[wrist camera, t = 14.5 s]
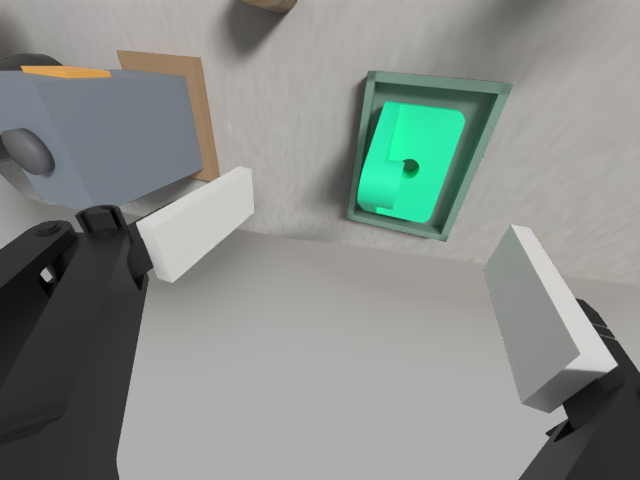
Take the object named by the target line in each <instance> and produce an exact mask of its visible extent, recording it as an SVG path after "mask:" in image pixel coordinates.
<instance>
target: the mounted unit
mask: <svg viewBox="0 0 640 480" xmlns="http://www.w3.org/2000/svg"><path fill="white" fill-rule="evenodd" d="M117 53H118V57H119V60H120V63H121V66H122V69H123V70H97V69H89V68H80V67H72V66H21V68H22V70H23V71H0V134H1V138H2V142H3V144H4V146H5V148H6V150H7V151H8V153H9V154H10V156H11V157H12V158H13V159H14V161H15V162H16V163H17V164H18V165H19V166H20V167H21V169H22V170H23V172H24V173H25V175H26V177H27V178H28V180H29V182H30V183H31V185H32V186H33V188H34V190H35V191H36V193H37V195H38V196H39V198H41V199H44V200H48V201H51V202H54V203H58V204H61V205H64V206H67V207H71V208H74V209H77V210H81V211H82V210H84V209H86V208H89V207H93V206H98V205H115V206H117V207H120V206H122V205H124V204H126V203H128V202H131V201H133V200H135V199H137V198H140V197H142V196H144V195H146V194H148V193H151V192H153V191H155V190H157V189H159V188H162V187H164V186H166V185H168V184H171V183H173V182H175V181H177V180H179V179H182V178H184V177H186V176H187V177H191V178H195V179H200V180H204V181H209V182H212V181H213V180H215V179H217V178H219V177H220V175H219V168H218V162H217V156H216V150H215V144H214V138H213V132H212V126H211V119H210V113H209V107H208V101H207V95H206V89H205V83H204V77H203V70H202V64H201V58H197V57H186V56H175V55H165V54H154V53H143V52H133V51H118V50H117Z"/></svg>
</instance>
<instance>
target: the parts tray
mask: <svg viewBox="0 0 640 480" xmlns="http://www.w3.org/2000/svg"><path fill="white" fill-rule="evenodd" d="M512 87H513V84H510V83H504V82H493V81H482V80H471V79H460V78H449V77H438V76H427V75H416V74H405V73H394V72H383V71H368V75H367V82H366V89H365V96H364V102H363V109H362V116H361V123H360V130H359V136H358V143H357V150H356V157H355V164H354V171H353V177H352V184H351V191H350V198H349V205H348V211H347V218H346V219H350V220H354V221H358V222H363V223H367V224H371V225H375V226H380V227H384V228H388V229H393V230H397V231H401V232H405V233H410V234H414V235H418V236H423V237H427V238H431V239H435V240H440V241H444V242H446V240H447V238H448V236H449V233H450V231H451V229H452V226H453V224H454V222H455V219H456V217H457V215H458V212H459V210H460V208H461V205H462V203H463V201H464V198H465V196H466V194H467V191H468V189H469V187H470V184H471V182H472V180H473V177H474V175H475V173H476V170H477V168H478V166H479V163H480V161H481V159H482V157H483V154H484V152H485V150H486V147H487V145H488V143H489V140H490V138H491V136H492V133H493V131H494V129H495V126H496V124H497V122H498V119H499V117H500V115H501V112H502V110H503V108H504V105H505V103H506V101H507V98H508V96H509V94H510V91H511V89H512ZM386 101H392V102H400V103H409V104H417V105H426V106H434V107H443V108H451V109H457V110H459V111H460V112H461V113H462V114H463V116H464V118H465V124H464V127H463V130H462V132H461V135H460V138H459V141H458V143H457V146H456V149H455V152H454V154H453V157H452V160H451V163H450V165H449V168H448V171H447V174H446V176H445V179H444V182H443V185H442V187H441V190H440V193H439V196H438V198H437V201H436V204H435V207H434V209H433V212H432V215H431V217H430V219H429V220H428V221H426V222H423V223H419V222H415V221H410V220H406V219H401V218H397V217H392V216H388V215H383V214H379V213H374V212H370V211H365V210H364V209H363V208H362V207H361V206H360V204H359V203H358V201H357V197H358V189H359V183H360V178H361V174H362V170H363V167H364V164H365V161H366V158H367V155H368V152H369V149H370V146H371V143H372V140H373V137H374V134H375V131H376V128H377V125H378V122H379V119H380V116H381V113H382V110H383V107H384V104H385V102H386ZM402 162H405V163H404V167H403V170H405V171H413V170H415V169H417V168H418V166H419V165H418V163H417V162H416V161H415V160H413V159H406V160H403V161H402Z"/></svg>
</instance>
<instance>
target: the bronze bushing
mask: <svg viewBox="0 0 640 480" xmlns="http://www.w3.org/2000/svg"><path fill="white" fill-rule="evenodd" d="M240 1H243V2H245V3H248V4H251V5H254V6H257V7H260V8H263V9H266V10H268V11H271V12H274V13H278V14H282V13H286V12H288V11H289V10H291V9H292V8H293V6H294V5H295V4H296V2H297V0H240Z"/></svg>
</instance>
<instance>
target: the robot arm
mask: <svg viewBox="0 0 640 480" xmlns="http://www.w3.org/2000/svg"><path fill="white" fill-rule="evenodd" d="M21 66H63V65H62V64H60V63H59V62H58V61H56V60H55V59H53V58H51V57H49V56H46V55H43V54H18V55H15V56H12V57H9V58H6V59H3V60H0V71H23V70H22V68H21ZM8 160H13V158H12V157H11V156H10V154H9V153H8V151H7V150H6V148H5V146H4V144H3V142H2V138H1V134H0V162H4V161H8ZM253 213H254V199H253V187H252V174H251V169H248V168H244V167H237V168H236V169H234V170H232V171H230V172H228V173H226V174H225V175H223V176H221V177H219V178H217V179H215V180H213V181H212V182H210V183H208V184H206V185H204V186H202V187H201V188H199V189H197V190H195V191H193V192H191V193H190V194H188V195H186V196H184V197H182V198H180V199H179V200H176V201H173V202H170V203H168V204H166V205H164V206H163V207H162V208H159V209H157V210H155V211H154V212H151V213H150V214H148V215H146V216H144V217H142V218H140V219H139V220H137V221H135V222H133V223H131V224H129V225H127V224H126V222H125V220H124V217H123V215H122V212H121V210H120V208H119V207H117V206H115V205H98V206H93V207H89V208H86V209H84V210H82V211H80V212H78V213H77V214H76V215H75V217H76V218H77V220H78V222H79V224H80V226H81V228H82V229H83V231H84V233H79V232H78V233H77V232H75V230H74V228H73V226H72V225H71V223H70V222H67V221H61V220H59V221H48V222H43V223H41V224H39V225H37V226H34V227H32V228H30V229H28V230H27V231H25V232H24V233H23V234H21V235H20V236H19V237H17V238H16V239H14V240H13V241H12V242H10V243H9V244H7V245H6V246H5V247H3V248H2V249H0V480H119V475H118V470H117V464H116V458H117V449H118V444H119V439H120V434H121V427H122V423H123V417H124V412H125V406H126V401H127V396H128V390H129V385H130V379H131V373H132V368H133V363H134V357H135V351H136V346H137V341H138V335H139V329H140V324H141V318H142V313H143V307H144V302H145V297H146V292H147V286H148V281H149V278H148V274H147V272H148V271H149V270H150V269H152V268H154V270H155V273H156V275H157V278H159V279H163V280H165V281H168V282H171V283H173V282H174V281H175V280H176V279H177V278H179V277H180V276H181V275H182V274H183V273H184V272H185V271H187V270H188V269H189V268H190V267H191V266H193V265H194V264H195V263H196V262H197V261H198V260H200V259H201V258H202V257H203V256H204V255H205V254H206V253H208V252H209V251H210V250H211V249H212V248H213V247H215V246H216V245H217V244H218V243H219V242H220V241H222V240H223V239H224V238H225V237H226V236H227V235H228V234H230V233H231V232H232V231H233V230H234V229H236V228H237V227H238V226H239V225H240V224H241V223H243V222H244V221H245V220H246V219H247V218H248V217H249V216H251V215H252V214H253ZM45 268H47V270H48V271H49V272H50V274H51V275H52V277H53V278H52V279H51V280H50V281H48V282H46V281H45V280H44V279H43V277H42V276H41V275H40V273H41V272H42V270H43V269H45ZM483 271H484V274H485V278H486V281H487V285H488V288H489V291H490V295H491V299H492V303H493V306H494V309H495V313H496V317H497V320H498V324H499V327H500V331H501V334H502V337H503V341H504V344H505V348H506V352H507V355H508V359H509V362H510V366H511V369H512V373H513V376H514V380H515V383H516V387H517V390H518V394H519V397H520V401H521V403H522V404H524V405H527V406H529V407H532V408H535V409H539V410H541V411H544V412H547V413H551V412H552V411H554V410H555V409H556V408H558V407H559V406H561V405H562V404H563V407H564V409H565V411H566V414H567V416H568V419H567V420H565V421H564V422H562V423H560V424H559V425H557V426H555V427H554V428H552V429H551V430H549V431H548V432H546V433H545V434H546V435H548V436H549V437H550V436H551V437H550V438H549V440H548V441H547V442H546V443H545V445H544V446H543V447H542V449H541V450H540V451H539V453H538V454H537V456H536V457H535V458H534V460H533V461H532V462H531V464H530V465H529V466H528V468H527V469H526V470H525V472H524V473H523V474H522V476H521V477H520V478H519V480H640V373H639V371H638V370H637V368H636V367H635V365H634V364H633V363H632V361H631V360H630V358H629V357H628V355H627V354H626V353H625V351H624V350H623V348H622V347H621V345H620V344H619V343H618V341H616V340H615V337H614V335H613V334H612V332H611V331H610V330H609V329H607V325H606V324H605V322H604V321H603V320H602V318H601V317H600V316H599V314H598V313H597V312H596V311H595V310H594V309H593V308H591V307H590V306H589V305H588V304H587V303H586V302H585V301H584V300H580V299H576V298H574V296H573V295H572V293H571V292H570V290H569V288H568V287H567V285H566V284H565V282H564V281H563V279H562V277H561V276H560V274H559V273H558V271H557V270H556V268H555V267H554V265H553V263H552V262H551V260H550V259H549V257H548V256H547V254H546V253H545V251H544V250H543V248H542V246H541V245H540V243H539V242H538V240H537V239H536V237H535V236H534V234H533V232H532V231H531V229H530V228H527V227H522V226H517V225H512V224H510V226H509V228H508V229H507V231H506V233H505V234H504V236H503V238H502V239H501V241H500V243H499V244H498V246H497V248H496V249H495V251H494V253H493V254H492V256H491V258H490V259H489V261H488V263H487V264H486V266H485V268H484V269H483Z"/></svg>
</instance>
